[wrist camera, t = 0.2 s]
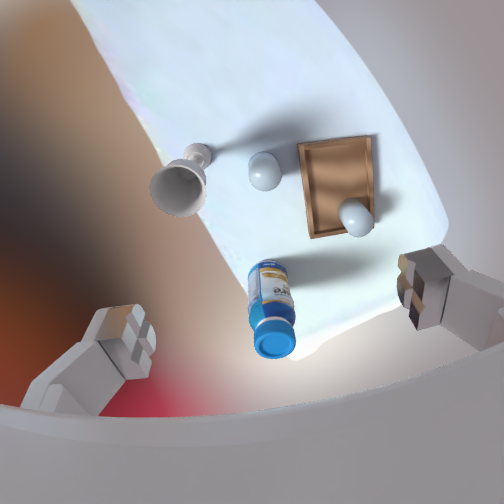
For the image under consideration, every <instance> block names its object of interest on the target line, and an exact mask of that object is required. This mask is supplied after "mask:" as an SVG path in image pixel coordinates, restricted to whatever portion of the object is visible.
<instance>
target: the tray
mask: <svg viewBox="0 0 504 504" xmlns="http://www.w3.org/2000/svg"><path fill="white" fill-rule="evenodd" d="M297 147H298V154H299V161H300V168H301V175H302V183H303V190H304V198H305V206H306V214H307V223H308V232H309V236H310V239H314V238H320V237H326V236H332V235H337V234H343V233H348V231H347V229H346V228H345V226H344V225H343V223H342V221H341V220H340V218H339V216H338V207H339V205H340V204H341V202H342V201H344V200H345V199H348V198H355V199H358V200H359V201H360V202H361V203H362V204H363V205H364V207H365V208H366V209H367V210H368V211H369V212H370V214H371V215H372V216H373V219H374V186H373V165H372V149H371V138H370V137H368V136H357V137H348V138H339V139H331V140H323V141H315V142H308V143H301V144H297ZM373 228H374V225H373Z"/></svg>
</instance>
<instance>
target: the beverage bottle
mask: <svg viewBox="0 0 504 504" xmlns="http://www.w3.org/2000/svg"><path fill="white" fill-rule="evenodd" d="M248 293H249V304H248V313H249V323H250V326H251V327H252V329H253V330H254V346H255V350H256V351H257V353H258V354H259V355H261V356H262V357H265V358H269V359H278V358H282V357H285V356H287V355H289V354H290V353H291V352H292V351H293V350H294V348H295V345H296V338H295V333H294V329H293V326H294V323H295V317H296V316H295V311H294V301H293V299H292V297H291V294H290V289H289V284H288V276H287V272H286V270H285V268H284V267H283V266H282V265H281V264H280V263H278V262H275V261H271V260H266V261H261V262H259V263H257V264H255V265H254V266H253V267H252V268H251V269H250V271H249V274H248Z"/></svg>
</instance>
